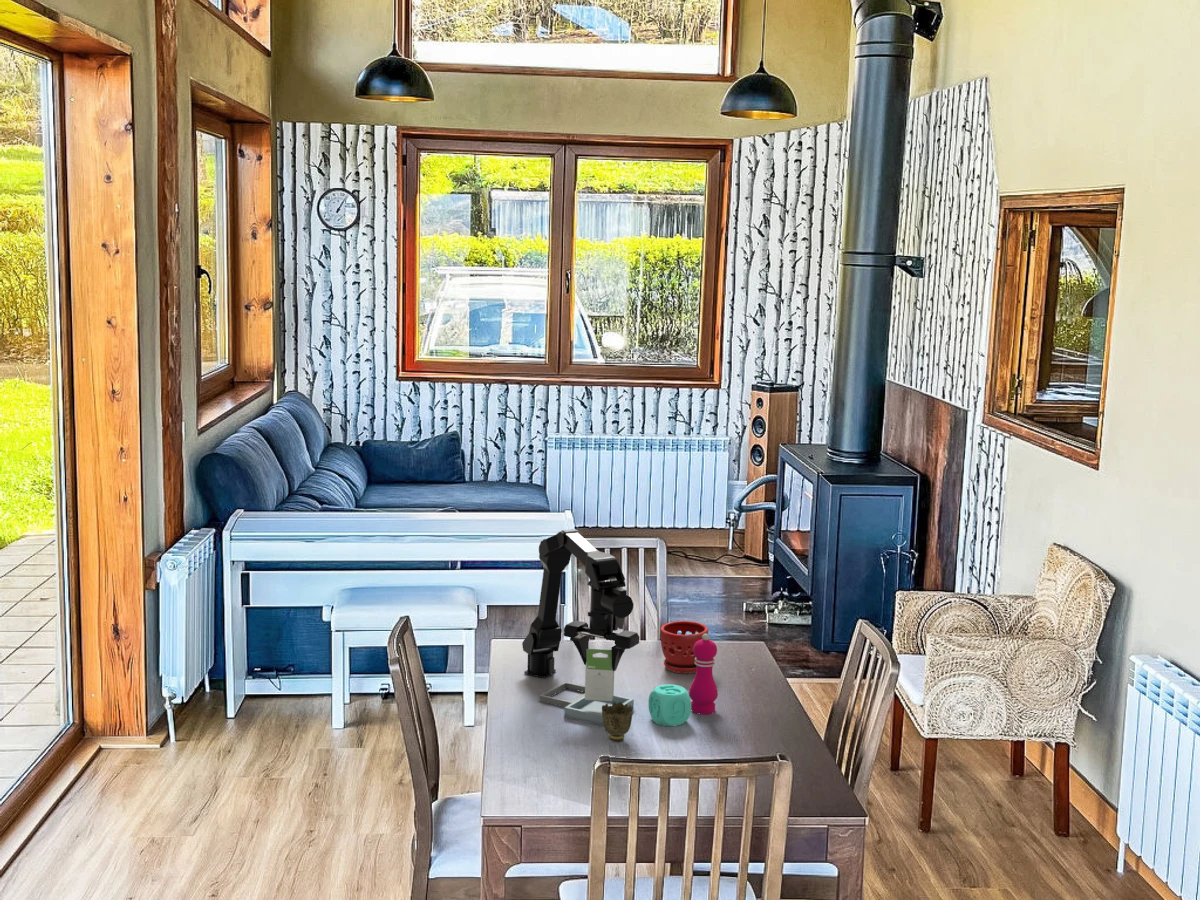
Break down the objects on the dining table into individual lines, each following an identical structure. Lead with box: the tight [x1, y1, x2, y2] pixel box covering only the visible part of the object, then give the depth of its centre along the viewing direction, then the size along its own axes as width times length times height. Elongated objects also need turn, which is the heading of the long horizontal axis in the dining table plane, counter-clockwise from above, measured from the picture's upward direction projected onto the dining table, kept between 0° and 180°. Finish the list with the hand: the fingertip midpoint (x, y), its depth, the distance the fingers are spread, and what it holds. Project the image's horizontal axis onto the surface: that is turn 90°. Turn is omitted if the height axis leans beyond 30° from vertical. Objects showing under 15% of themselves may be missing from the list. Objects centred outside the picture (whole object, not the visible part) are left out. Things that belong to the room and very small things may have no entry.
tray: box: [563, 694, 635, 727], centre depth 318 cm, size 12×15×2 cm
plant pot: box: [660, 620, 709, 675], centre depth 352 cm, size 13×13×12 cm
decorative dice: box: [648, 683, 692, 727], centre depth 314 cm, size 8×8×8 cm
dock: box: [539, 681, 585, 707], centre depth 328 cm, size 10×13×2 cm
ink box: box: [584, 648, 615, 701], centre depth 317 cm, size 7×4×13 cm, turn 84°
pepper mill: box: [688, 633, 719, 715], centre depth 321 cm, size 7×7×20 cm
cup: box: [602, 702, 634, 743], centre depth 301 cm, size 8×7×8 cm
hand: (600, 667), depth 317 cm, fingers closed on ink box, 8 cm apart
